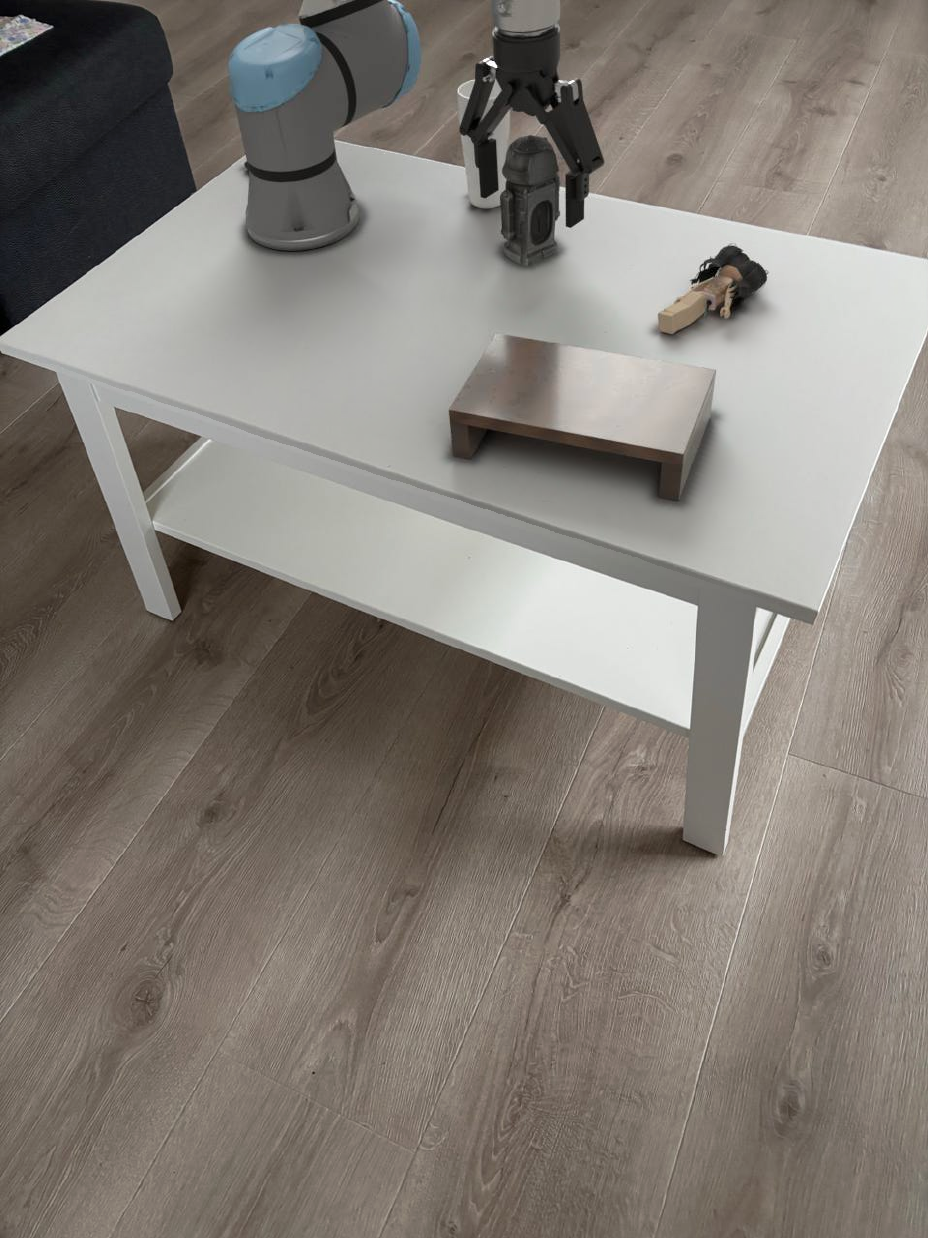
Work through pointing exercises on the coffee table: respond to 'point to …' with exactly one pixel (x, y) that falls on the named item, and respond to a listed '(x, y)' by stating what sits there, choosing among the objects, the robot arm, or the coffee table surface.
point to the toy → (530, 200)
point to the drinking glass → (499, 134)
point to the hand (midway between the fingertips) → (531, 207)
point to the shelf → (587, 403)
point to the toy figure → (715, 289)
